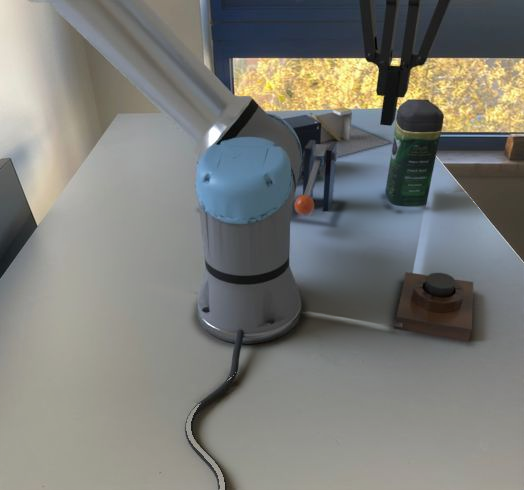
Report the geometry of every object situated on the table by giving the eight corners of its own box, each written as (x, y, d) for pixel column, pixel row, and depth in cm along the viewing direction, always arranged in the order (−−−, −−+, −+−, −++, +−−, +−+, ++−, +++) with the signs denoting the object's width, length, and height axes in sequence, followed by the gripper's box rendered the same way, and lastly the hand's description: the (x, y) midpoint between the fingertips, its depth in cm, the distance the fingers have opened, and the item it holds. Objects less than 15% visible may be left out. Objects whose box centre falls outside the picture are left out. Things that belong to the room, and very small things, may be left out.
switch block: (467, 342, 71) (475, 318, 68) (394, 328, 73) (398, 306, 70) (469, 293, 79) (476, 271, 77) (403, 283, 82) (407, 261, 79)
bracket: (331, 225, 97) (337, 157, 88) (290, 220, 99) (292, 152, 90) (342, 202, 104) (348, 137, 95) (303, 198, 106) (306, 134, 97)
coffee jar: (430, 212, 100) (451, 111, 88) (389, 212, 100) (404, 111, 88) (420, 191, 107) (438, 95, 95) (381, 191, 108) (395, 95, 95)
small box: (305, 168, 117) (307, 113, 110) (320, 179, 113) (323, 122, 105) (252, 179, 113) (250, 123, 105) (266, 191, 109) (265, 132, 101)
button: (452, 300, 72) (455, 290, 71) (422, 295, 73) (425, 285, 72) (453, 285, 75) (456, 274, 74) (425, 280, 76) (427, 270, 74)
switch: (312, 220, 90) (311, 207, 87) (293, 218, 91) (291, 204, 88) (331, 157, 96) (330, 143, 93) (313, 155, 96) (312, 141, 93)
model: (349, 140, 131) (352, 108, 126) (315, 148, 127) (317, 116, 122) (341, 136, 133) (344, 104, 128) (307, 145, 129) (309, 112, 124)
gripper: (488, -115, 55) (440, 118, 70) (366, -113, 58) (346, 109, 74) (484, -117, 49) (434, 136, 65) (351, -114, 53) (333, 125, 68)
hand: (387, 121), depth 69 cm, fingers closed
